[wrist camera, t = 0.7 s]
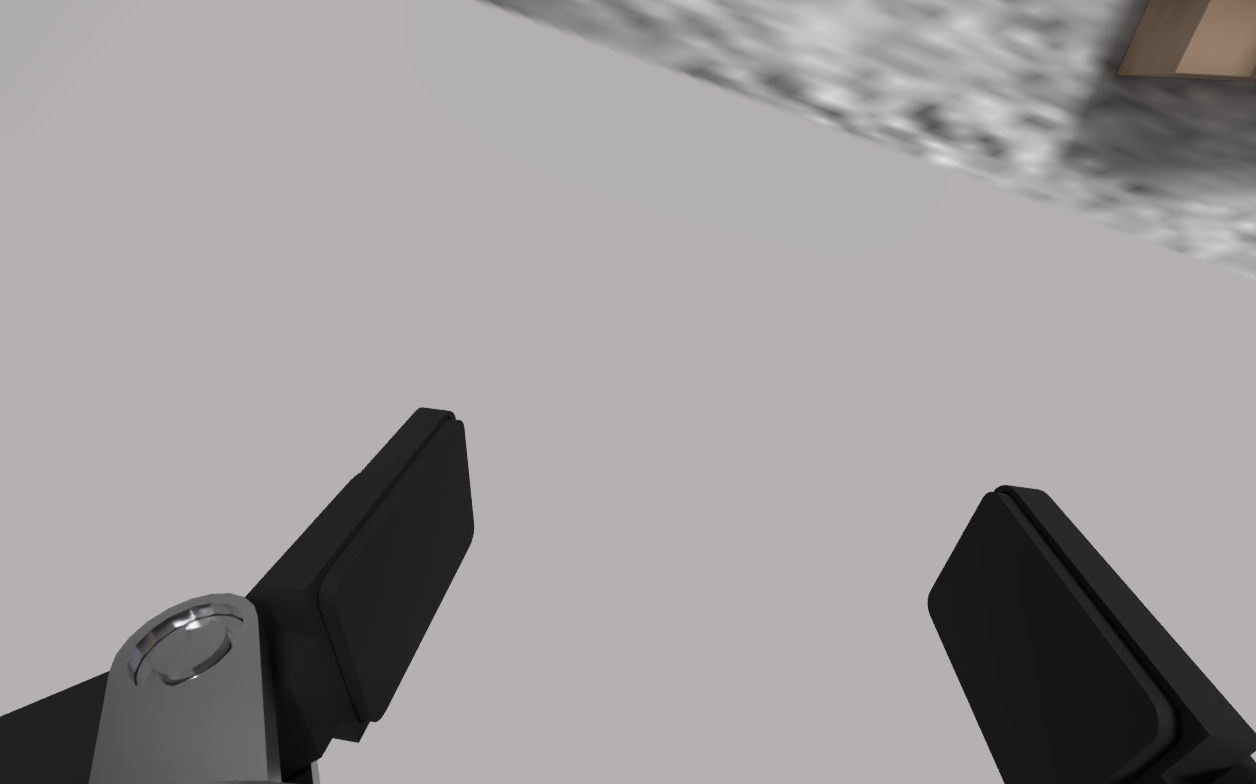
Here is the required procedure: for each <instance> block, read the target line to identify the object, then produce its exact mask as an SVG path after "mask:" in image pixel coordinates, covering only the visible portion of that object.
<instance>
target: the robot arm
mask: <svg viewBox="0 0 1256 784" xmlns="http://www.w3.org/2000/svg"><path fill="white" fill-rule="evenodd" d="M473 534H474V519H473V509H472V499H471V489H470V479H469V469H468V459H467V450H466V440H465V430H464V424H463V422H462V421H461V420H456V418H455V415H454V413H453V412H451V411H446V410H438V409H430V408H423V407H422V408H419V409H418V410H416V411H415V413H414V414H413V415H412V416H411V417H410V418H409V419H408V420H407V421H406V423H405V424H404V425H403V426H402V427H401V428H400V429H399V430H398V431H397V433H396V434H395V435H394V436H393V437H392V438H391V439H390V440H389V441H388V443H387V444H386V445H385V446H384V447H383V448H382V449H381V451H380V452H379V453H378V454H377V455H376V456H375V457H374V458H373V459H372V460H371V462H370V463H369V464H368V465H367V466H366V467H365V468H364V470H362V472H361V473H359V474H357V475H356V476H355V477H354V478H353V479H351V480H350V482H349V483H348V484H347V485H346V486H345V487H344V488H343V489H342V490H341V492H340V493H339V494H338V495H337V496H336V497H335V498H334V499H333V500H332V501H331V503H330V504H329V505H328V506H327V507H326V508H325V509H324V510H323V511H322V513H321V514H320V515H319V516H318V517H317V518H316V519H315V520H314V521H313V523H312V524H311V525H310V526H309V527H308V528H307V529H306V531H305V532H304V533H303V534H302V535H301V536H300V537H299V538H298V539H297V540H296V541H295V543H294V544H293V545H292V546H291V547H290V548H289V549H288V550H287V551H286V552H285V554H284V555H283V556H282V557H281V558H280V559H279V560H278V561H277V562H276V563H275V565H274V566H273V567H272V568H271V569H270V570H269V571H268V572H267V574H266V575H265V576H264V577H263V578H262V579H261V580H260V581H259V582H258V583H257V585H256V586H255V587H254V588H253V589H252V590H251V591H250V592H249V593H248V595H247V596H246V597H242V596H238V595H234V594H230V593H227V594H226V593H225V594H209V595H205V596H201V597H197V598H193V599H190V600H187V601H185V602H183V603H180V604H178V605H176V606H173V607H171V608H169V609H167V610H165V611H164V612H162V613H161V614H159V615H157V616H156V617H154V618H152V619H151V620H149V621H148V622H146V623H145V624H144V625H143V626H142V627H141V628H140V629H138V630H137V631H136V632H135V633H134V634H133V635H132V636H130V637H129V639H128V640H127V641H126V642H125V644H124V645H123V646H122V648H121V649H120V650H119V651H118V653H117V654H116V656H115V658H114V661H113V663H112V666H111V669H110V671H108V672H106V673H104V674H101V675H99V676H96V677H94V678H92V679H89V680H87V681H85V682H82V683H80V684H78V685H75V686H72V687H70V688H68V689H65V690H63V691H61V692H58V693H56V694H53V695H51V696H49V697H46V698H44V699H41V700H39V701H37V702H34V703H32V704H30V705H27V706H25V707H23V708H20V709H18V710H15V711H13V712H10V713H8V714H6V715H3V716H1V717H0V784H320V780H319V772H318V764H317V760H318V759H319V758H321V757H322V755H323V754H324V752H325V750H326V748H327V747H328V745H329V743H330V741H331V740H332V738H335V739H341V740H346V741H352V742H358V743H359V741H360V739H361V738H362V735H363V734H364V732H365V730H366V728H367V726H368V724H369V722H370V721H371V722H377V721H379V720H380V719H381V717H382V716H383V715H384V713H385V711H386V710H387V708H388V706H389V704H390V702H391V700H392V698H393V696H394V694H395V692H396V690H397V688H398V686H399V684H400V682H401V680H402V678H403V676H404V674H405V672H406V670H407V668H408V667H409V665H410V663H411V661H412V659H413V657H414V655H415V653H416V651H417V649H418V647H419V645H420V643H421V641H422V639H423V637H424V635H425V633H426V631H427V629H428V627H429V625H430V623H431V621H432V619H433V617H434V615H435V613H436V611H437V609H438V607H439V605H440V604H441V602H442V600H443V597H444V596H445V594H446V592H447V590H448V588H449V586H450V584H451V582H452V580H453V578H454V576H455V574H456V572H457V570H458V568H459V566H460V564H461V562H462V560H463V558H464V556H465V554H466V552H467V550H468V548H469V546H470V544H471V542H472V538H473ZM928 610H929V613H930V616H931V618H932V620H933V623H934V625H935V628H936V630H937V632H938V634H939V637H940V639H941V641H942V643H943V645H944V648H945V650H946V652H947V655H948V657H949V659H950V661H951V664H952V666H953V668H954V670H955V673H956V675H957V677H958V679H959V682H960V684H961V686H962V688H963V691H964V693H965V695H966V698H967V700H968V702H969V704H970V707H971V709H972V711H973V713H974V716H975V718H976V720H977V722H978V725H979V727H980V729H981V731H982V734H983V736H984V738H985V740H986V742H987V745H988V747H989V749H990V752H991V754H992V756H993V758H994V761H995V763H996V765H997V768H998V769H999V772H1000V774H1001V776H1002V779H1003V781H1004V783H1005V784H1256V762H1255V761H1254V760H1253V758H1252V757H1251V756H1250V755H1251V754H1252V753H1254V752H1255V751H1256V733H1255V732H1254V731H1253V730H1252V728H1251V727H1250V726H1249V725H1248V724H1247V723H1246V722H1245V720H1244V719H1243V718H1242V717H1241V716H1240V715H1239V714H1238V712H1237V711H1236V710H1235V709H1234V708H1233V707H1232V705H1231V704H1230V703H1229V702H1228V701H1227V700H1226V699H1225V697H1224V696H1223V695H1222V694H1221V693H1220V692H1219V691H1218V689H1217V688H1216V687H1215V686H1214V685H1213V684H1212V683H1211V681H1210V680H1209V679H1208V678H1207V677H1206V676H1205V674H1204V673H1203V672H1202V671H1201V670H1200V669H1199V668H1198V666H1197V665H1196V664H1195V663H1194V662H1193V661H1192V660H1191V658H1190V657H1189V656H1188V655H1187V654H1186V653H1185V651H1184V650H1183V649H1182V648H1181V647H1180V646H1179V645H1178V643H1177V642H1176V641H1175V640H1174V639H1173V638H1172V637H1171V636H1170V635H1169V633H1168V632H1167V631H1166V630H1165V629H1164V627H1163V626H1162V625H1161V624H1160V623H1159V622H1158V621H1157V619H1156V618H1155V617H1154V616H1153V615H1152V614H1151V612H1150V611H1149V610H1148V609H1147V608H1146V607H1145V606H1144V605H1143V603H1142V602H1141V601H1140V600H1139V599H1138V597H1137V596H1136V595H1135V594H1134V593H1133V592H1132V591H1131V589H1130V588H1129V587H1128V586H1127V585H1126V584H1125V583H1124V581H1123V580H1122V579H1121V578H1120V577H1119V576H1118V575H1117V573H1116V572H1115V571H1114V570H1113V569H1112V568H1111V567H1110V565H1109V564H1108V563H1107V562H1106V561H1105V560H1104V558H1103V557H1102V556H1101V555H1100V554H1099V553H1098V552H1097V550H1096V549H1095V548H1094V547H1093V546H1092V545H1091V544H1090V542H1089V541H1088V540H1087V539H1086V538H1085V537H1084V535H1083V534H1082V533H1081V532H1080V531H1079V530H1078V529H1077V528H1076V526H1075V525H1074V524H1073V523H1072V522H1071V521H1070V519H1069V518H1068V517H1067V516H1066V515H1065V514H1064V513H1063V511H1062V510H1061V509H1060V508H1059V507H1058V506H1057V504H1056V503H1055V502H1054V501H1053V500H1052V499H1051V498H1050V496H1048V495H1047V494H1046V493H1045V492H1044V491H1041V490H1038V489H1031V488H1024V487H1016V486H1009V485H1003V486H1000V487H998V488H996V489H995V491H994V492H989V493H987V494H985V496H984V497H983V498H982V500H981V502H980V504H979V506H978V507H977V509H976V511H975V513H974V514H973V516H972V518H971V520H970V522H969V523H968V525H967V527H966V529H965V530H964V532H963V534H962V536H961V538H960V539H959V541H958V543H957V545H956V547H955V548H954V550H953V552H952V554H951V556H950V557H949V559H948V561H947V562H946V564H945V566H944V568H943V570H942V571H941V573H940V575H939V577H938V578H937V580H936V582H935V584H934V586H933V587H932V589H931V591H930V593H929V596H928Z"/></svg>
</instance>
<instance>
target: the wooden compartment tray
mask: <svg viewBox="0 0 1256 784" xmlns="http://www.w3.org/2000/svg"><path fill="white" fill-rule="evenodd" d="M1116 75H1125V76H1146V77H1167V78H1187V79H1208V80H1229V81H1250V82H1256V0H1149V2H1148V5H1147V7H1146V9H1145V11H1144V14H1143V16H1142V18H1141V20H1140V23H1139V25H1138V27H1137V29H1136V31H1135V34H1134V36H1133V38H1132V40H1131V43H1130V45H1129V47H1128V49H1127V52H1126V54H1125V56H1124V58H1123V60H1122V63H1121V65H1120V67H1119V69H1118V72H1117V74H1116Z"/></svg>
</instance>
